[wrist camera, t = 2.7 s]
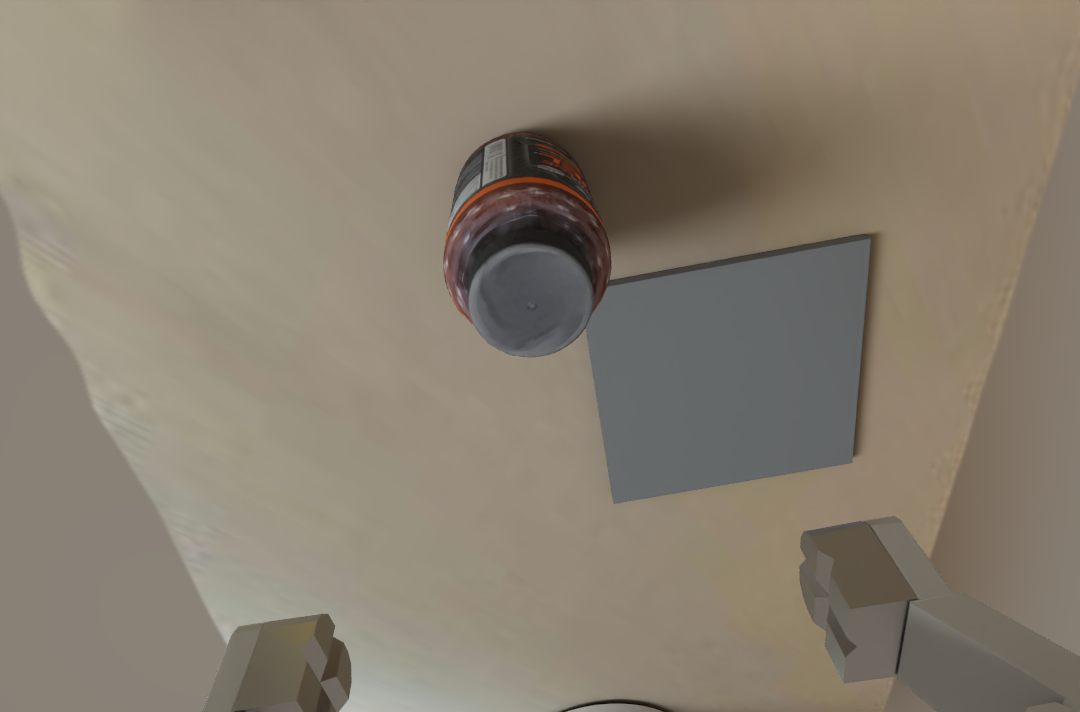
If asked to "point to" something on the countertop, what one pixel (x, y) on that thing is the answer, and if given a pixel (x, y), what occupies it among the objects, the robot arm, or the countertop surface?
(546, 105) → the countertop surface
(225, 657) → the robot arm
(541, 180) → the supplement bottle
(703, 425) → the mat
